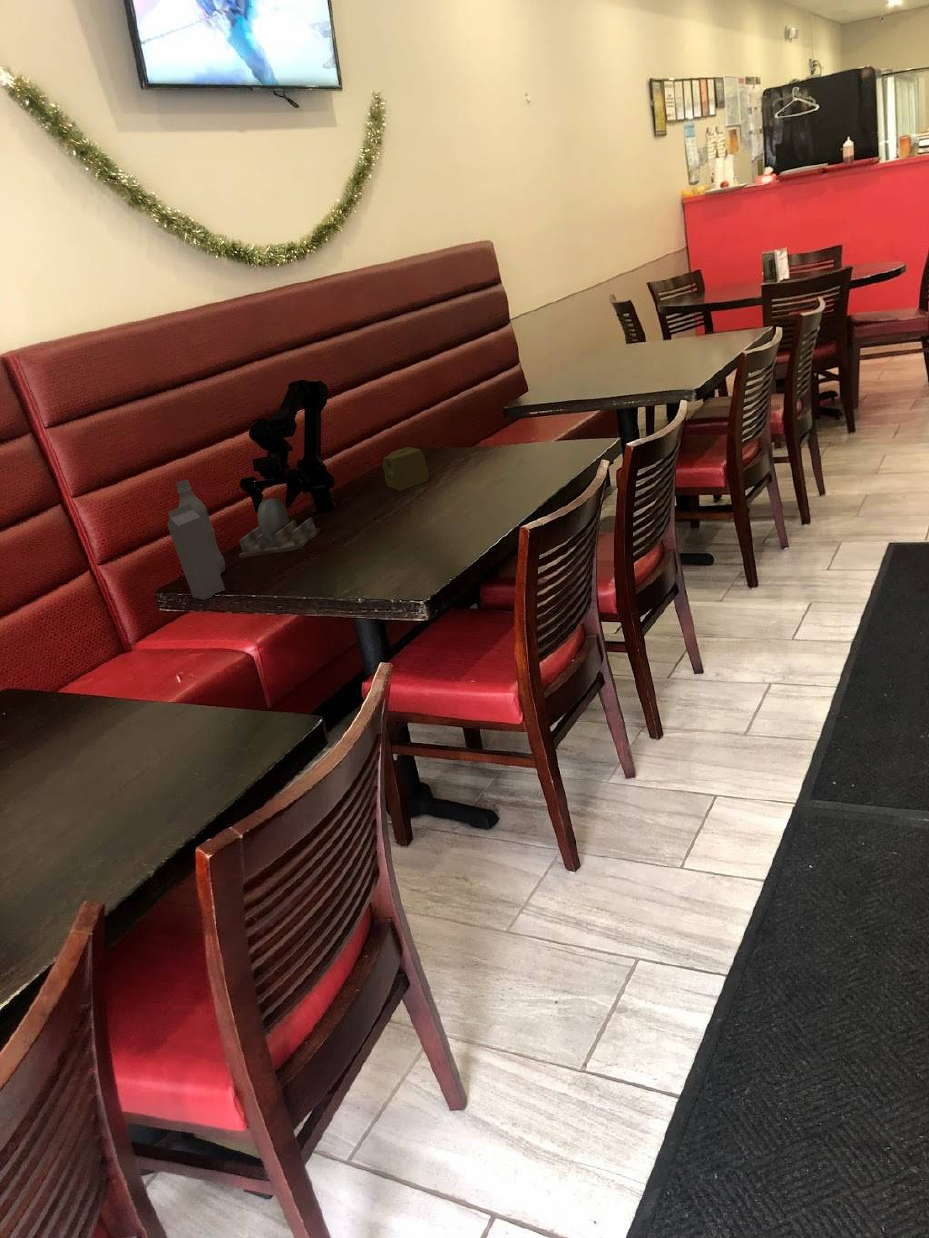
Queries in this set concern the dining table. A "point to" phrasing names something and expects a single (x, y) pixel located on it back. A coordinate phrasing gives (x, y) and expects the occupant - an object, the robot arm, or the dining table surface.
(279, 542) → the dish rack
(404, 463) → the cheese
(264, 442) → the robot arm
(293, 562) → the dining table surface
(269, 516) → the plate
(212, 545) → the water bottle
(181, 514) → the milk
